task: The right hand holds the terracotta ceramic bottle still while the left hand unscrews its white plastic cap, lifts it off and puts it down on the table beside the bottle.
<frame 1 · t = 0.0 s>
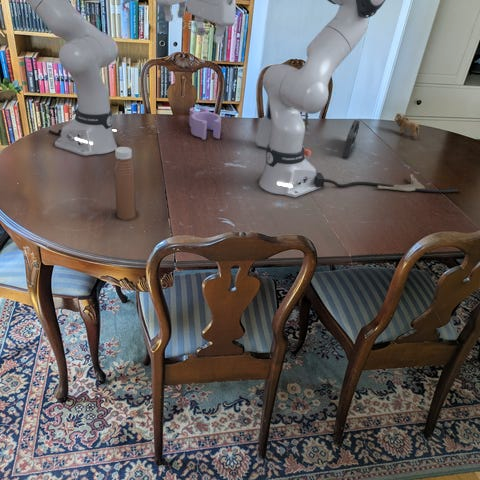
left hand: (175, 19, 144), 48 cm above the table, tool pointing down, fingers open, 8 cm apart
right hand: (208, 38, 122), 48 cm above the table, tool pointing down, fingers open, 8 cm apart
clip: (203, 131, 201), on the table
jawbone: (396, 185, 172), on the table
handheld gaming console: (349, 150, 197), on the table
lion figurine: (404, 135, 220), on the table
miniature windmill: (297, 125, 218), on the table
bottle: (126, 215, 136), on the table
cap: (123, 150, 125), point 20 cm above the table, screwed on, not yet turned
electronic device: (271, 147, 191), on the table
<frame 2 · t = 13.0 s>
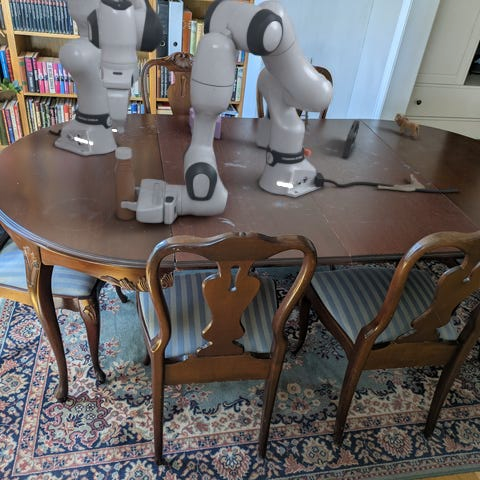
left hand: (122, 126, 122), 27 cm above the table, tool pointing down, fingers open, 7 cm apart
right hand: (122, 198, 133), 6 cm above the table, tool horizontal, fingers closed on bottle, 5 cm apart
bottle: (126, 214, 136), on the table, touching right hand
everything else where it was.
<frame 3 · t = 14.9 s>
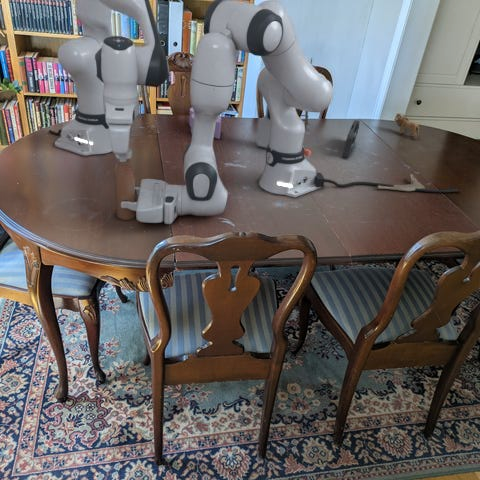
left hand: (123, 157, 126), 18 cm above the table, tool pointing down, fingers closed on cap, 4 cm apart
right hand: (122, 198, 133), 6 cm above the table, tool horizontal, fingers closed on bottle, 5 cm apart
bottle: (126, 214, 136), on the table, touching right hand
cap: (123, 150, 126), point 20 cm above the table, screwed on, not yet turned, touching left hand
everything else where it was.
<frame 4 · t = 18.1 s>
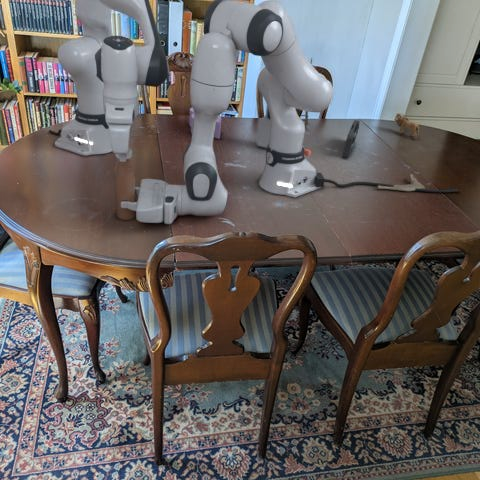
left hand: (123, 156, 126), 18 cm above the table, tool pointing down, fingers closed on cap, 4 cm apart
right hand: (122, 198, 133), 6 cm above the table, tool horizontal, fingers closed on bottle, 5 cm apart
bottle: (126, 214, 136), on the table, touching right hand
cap: (123, 150, 125), point 20 cm above the table, turned 76° so far, risen 0.1 cm, still on its thread, touching left hand
everything else where it was.
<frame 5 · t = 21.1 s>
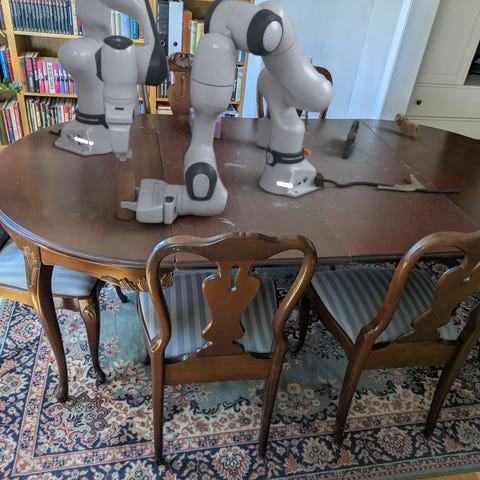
left hand: (123, 156, 126), 18 cm above the table, tool pointing down, fingers closed on cap, 4 cm apart
right hand: (122, 198, 133), 6 cm above the table, tool horizontal, fingers closed on bottle, 5 cm apart
bottle: (126, 214, 136), on the table, touching right hand
cap: (123, 150, 125), point 20 cm above the table, turned 153° so far, risen 0.2 cm, still on its thread, touching left hand
everything else where it was.
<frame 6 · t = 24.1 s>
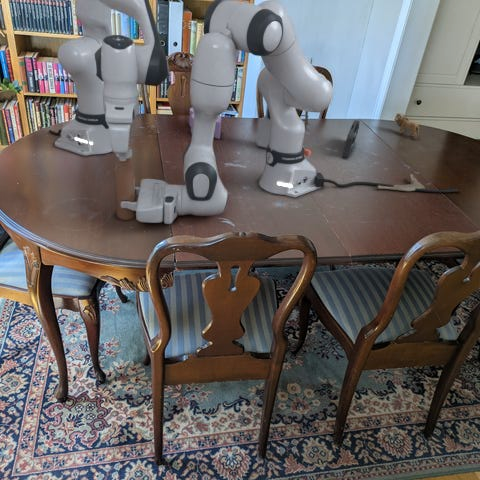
left hand: (123, 156, 126), 18 cm above the table, tool pointing down, fingers closed on cap, 4 cm apart
right hand: (122, 198, 133), 6 cm above the table, tool horizontal, fingers closed on bottle, 5 cm apart
bottle: (126, 214, 136), on the table, touching right hand
cap: (123, 149, 125), point 20 cm above the table, turned 229° so far, risen 0.3 cm, still on its thread, touching left hand
everything else where it was.
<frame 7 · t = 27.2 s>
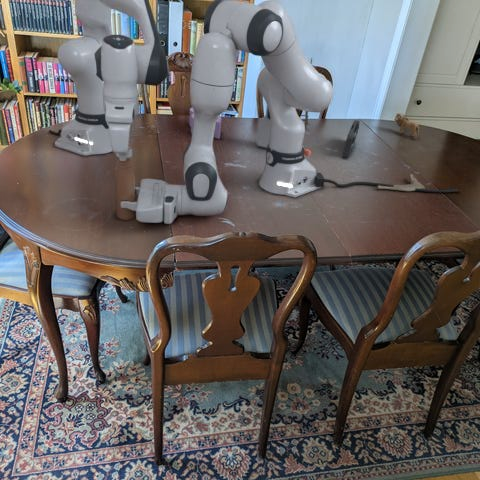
left hand: (123, 155, 126), 18 cm above the table, tool pointing down, fingers closed on cap, 4 cm apart
right hand: (122, 198, 133), 6 cm above the table, tool horizontal, fingers closed on bottle, 5 cm apart
bottle: (126, 214, 136), on the table, touching right hand
cap: (124, 149, 125), point 20 cm above the table, turned 306° so far, risen 0.3 cm, still on its thread, touching left hand
everything else where it was.
when the left hand's fingers open (2 cm above the table, at t = 38.0 s): cap drops 2 cm, point 2 cm above the table.
when the right hand's fingers open (6 cm above the table, at t = 39.2 s): bottle stays where it is, on the table.
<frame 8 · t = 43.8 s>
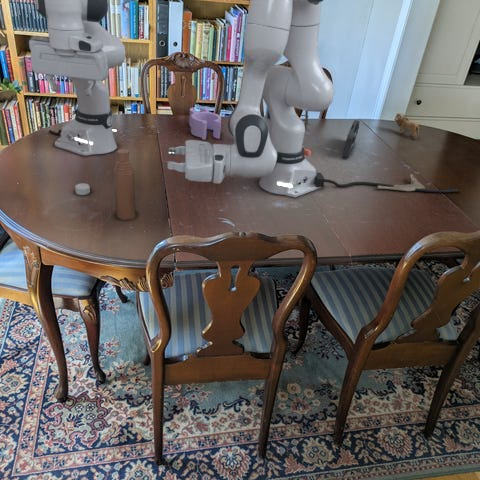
left hand: (72, 93, 129), 31 cm above the table, tool pointing down, fingers open, 8 cm apart
right hand: (168, 157, 128), 19 cm above the table, tool horizontal, fingers open, 8 cm apart
bottle: (126, 215, 136), on the table
cap: (82, 187, 145), point 2 cm above the table, off its thread
everything else where it was.
at the end: cap came off its thread; cap point 1.6 cm above the table; the left hand is holding nothing; the right hand is holding nothing; bottle tilted 0°; bottle moved 0.1 cm from its start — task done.
